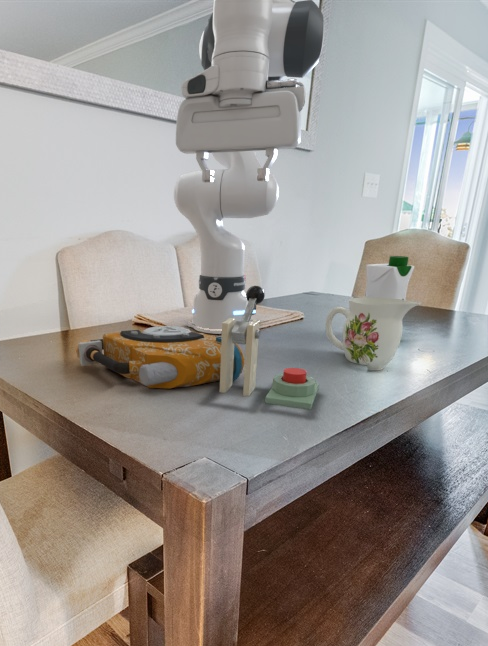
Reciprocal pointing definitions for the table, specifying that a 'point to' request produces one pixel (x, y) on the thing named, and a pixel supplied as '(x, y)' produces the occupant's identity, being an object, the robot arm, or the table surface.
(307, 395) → the button box
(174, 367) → the device
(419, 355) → the table surface
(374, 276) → the milk carton
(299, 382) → the button
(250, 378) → the bracket
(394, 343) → the pitcher
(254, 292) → the lever
